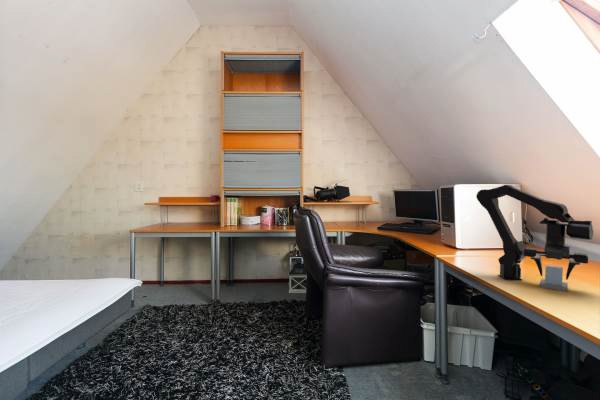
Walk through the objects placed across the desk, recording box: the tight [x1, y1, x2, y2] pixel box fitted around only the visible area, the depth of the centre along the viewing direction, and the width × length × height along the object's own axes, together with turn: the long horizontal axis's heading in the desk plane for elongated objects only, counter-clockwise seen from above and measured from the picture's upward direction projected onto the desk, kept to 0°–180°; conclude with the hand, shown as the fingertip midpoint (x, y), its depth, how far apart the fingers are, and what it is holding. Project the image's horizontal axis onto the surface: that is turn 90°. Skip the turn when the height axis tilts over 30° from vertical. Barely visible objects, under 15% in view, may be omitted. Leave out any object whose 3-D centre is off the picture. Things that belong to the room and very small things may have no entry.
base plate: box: [539, 278, 569, 292], centre depth 121 cm, size 8×8×4 cm
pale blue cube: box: [544, 264, 564, 286], centre depth 121 cm, size 5×5×6 cm
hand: (553, 277), depth 121 cm, fingers open, 7 cm apart
